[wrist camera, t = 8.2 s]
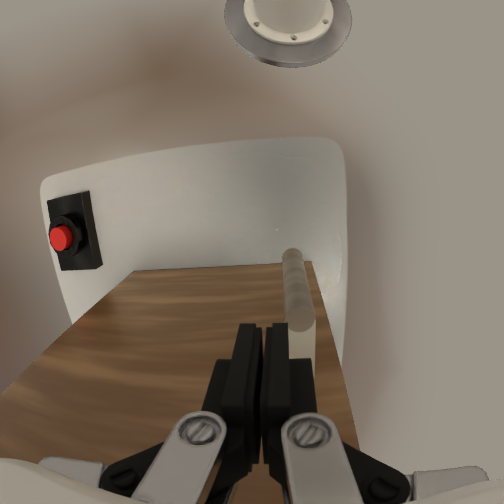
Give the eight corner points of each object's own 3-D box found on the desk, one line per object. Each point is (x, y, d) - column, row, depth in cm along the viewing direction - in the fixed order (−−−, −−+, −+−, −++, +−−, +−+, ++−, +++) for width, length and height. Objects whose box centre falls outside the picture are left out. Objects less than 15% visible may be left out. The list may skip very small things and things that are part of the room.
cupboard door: (125, 227, 42) (-103, 376, 5) (309, 212, 39) (454, 538, 3) (135, 277, 44) (-44, 462, 8) (311, 268, 41) (374, 583, 5)
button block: (54, 198, 41) (39, 202, 38) (89, 190, 41) (74, 194, 37) (68, 266, 45) (55, 274, 41) (103, 264, 44) (90, 273, 40)
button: (54, 226, 39) (47, 229, 37) (70, 223, 39) (63, 226, 37) (59, 248, 40) (52, 251, 38) (74, 246, 40) (68, 250, 38)
